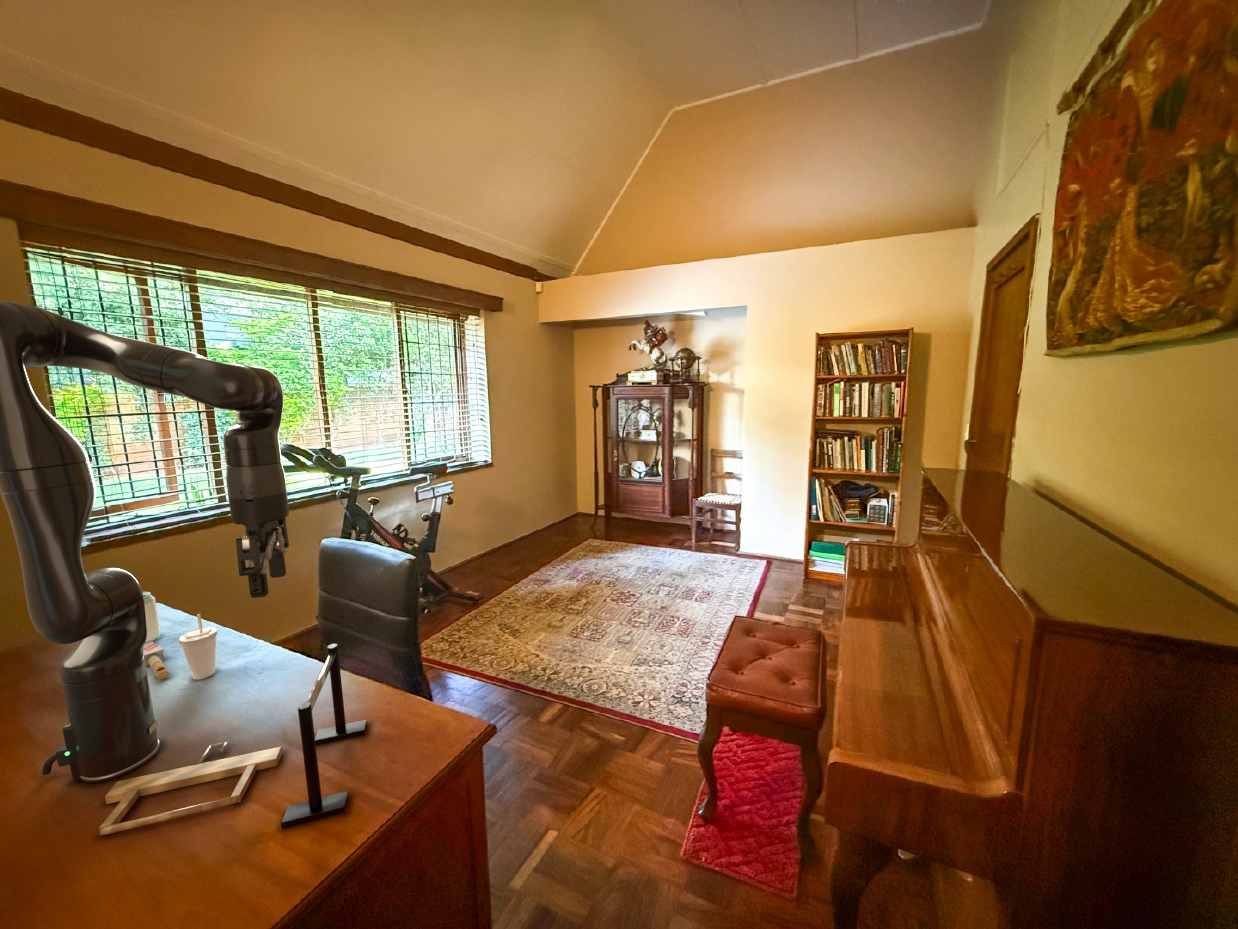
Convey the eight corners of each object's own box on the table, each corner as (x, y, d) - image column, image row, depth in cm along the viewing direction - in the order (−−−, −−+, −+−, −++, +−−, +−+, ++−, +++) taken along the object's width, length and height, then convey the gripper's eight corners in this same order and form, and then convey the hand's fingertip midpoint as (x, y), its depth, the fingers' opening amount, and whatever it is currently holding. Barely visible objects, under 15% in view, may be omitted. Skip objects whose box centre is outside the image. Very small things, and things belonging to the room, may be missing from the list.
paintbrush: (154, 634, 115) (174, 666, 104) (155, 645, 116) (175, 677, 104) (132, 641, 112) (150, 674, 101) (133, 651, 113) (151, 685, 101)
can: (152, 631, 123) (145, 588, 121) (166, 637, 120) (159, 593, 118) (115, 645, 117) (107, 599, 115) (130, 651, 114) (121, 604, 112)
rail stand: (281, 829, 67) (267, 718, 65) (318, 734, 86) (308, 645, 83) (344, 812, 70) (333, 705, 67) (367, 724, 88) (359, 638, 86)
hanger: (69, 837, 65) (138, 756, 79) (71, 846, 65) (139, 764, 79) (260, 792, 72) (291, 725, 86) (261, 800, 72) (292, 732, 86)
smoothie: (227, 671, 105) (219, 613, 103) (190, 686, 100) (181, 625, 98) (216, 663, 109) (208, 606, 106) (180, 677, 103) (170, 617, 101)
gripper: (248, 484, 81) (259, 573, 83) (208, 502, 68) (222, 608, 70) (298, 481, 83) (308, 568, 86) (269, 498, 70) (281, 600, 73)
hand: (269, 586), depth 78 cm, fingers open, 8 cm apart
